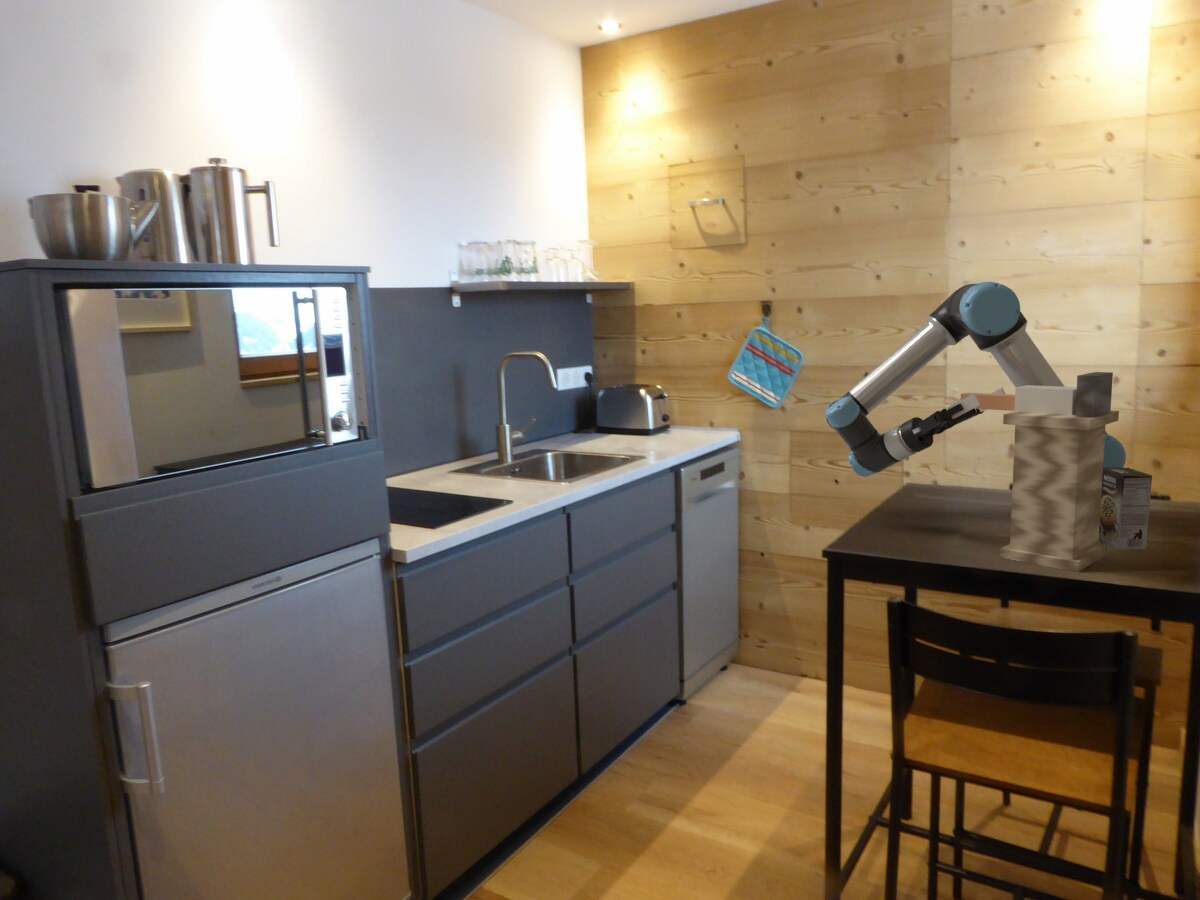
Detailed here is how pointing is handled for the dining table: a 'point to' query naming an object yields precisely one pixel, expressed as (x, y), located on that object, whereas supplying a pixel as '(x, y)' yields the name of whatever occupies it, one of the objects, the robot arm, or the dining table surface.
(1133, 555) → the dining table surface
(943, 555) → the dining table surface
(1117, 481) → the coffee box
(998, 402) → the plug
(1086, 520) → the stand
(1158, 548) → the dining table surface
